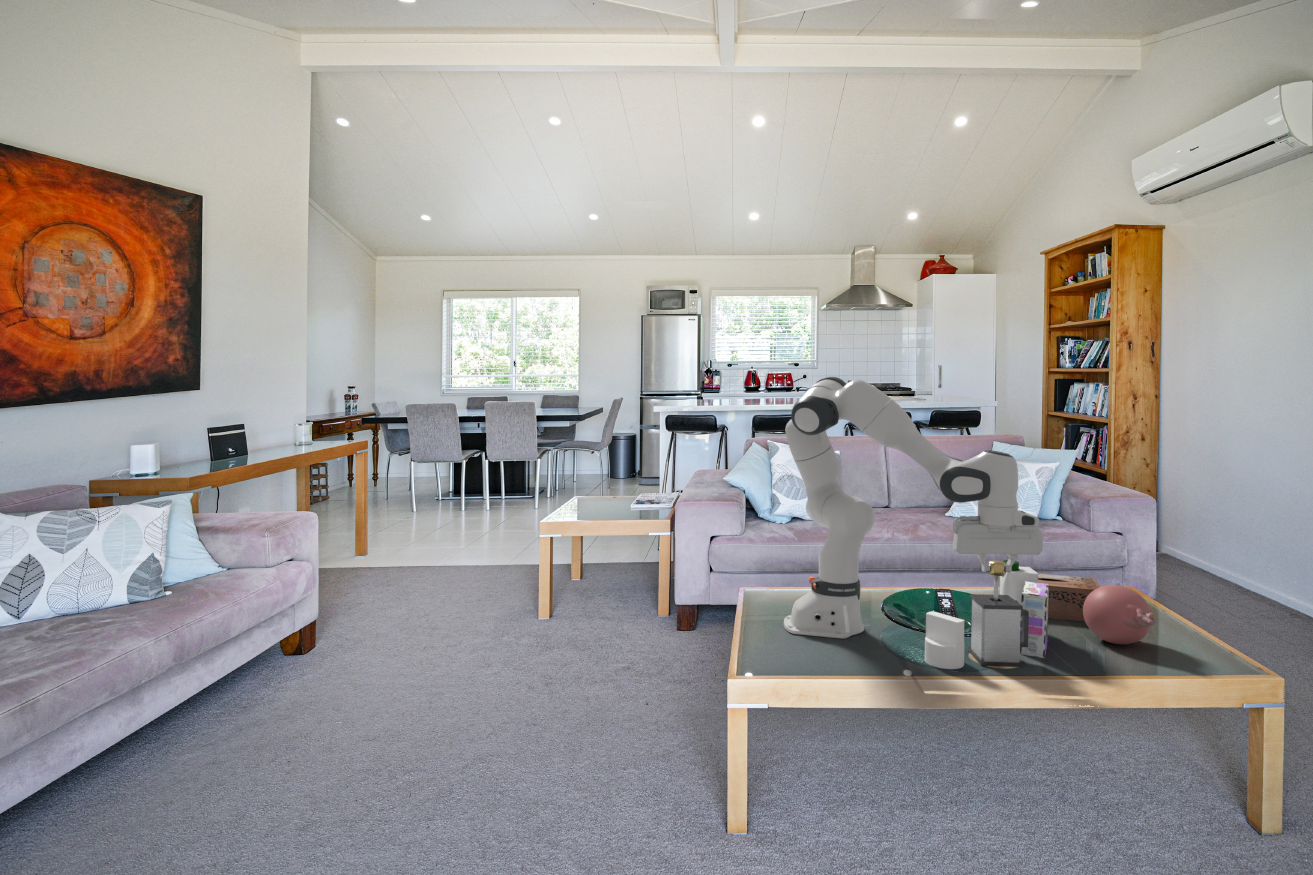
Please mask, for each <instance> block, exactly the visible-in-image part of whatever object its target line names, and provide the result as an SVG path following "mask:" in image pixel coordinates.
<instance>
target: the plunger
mask: <svg viewBox="0 0 1313 875" xmlns="http://www.w3.org/2000/svg"><path fill="white" fill-rule="evenodd" d="M988 564H989V565H990V572H987V573H988V575H990V576H993V595H994V601H998V595H999V586H1000V576H1004V575H1005V562H1003V561H1001V560H994V559H993V560H991V559H990V560H988Z"/></svg>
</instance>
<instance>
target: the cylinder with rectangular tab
mask: <svg viewBox="0 0 1313 875" xmlns="http://www.w3.org/2000/svg"><path fill="white" fill-rule="evenodd" d="M924 661H925V663H926V664H928V665H930V666H932V667H935V668H939V669H944V670H956V669H957V670H959V669H961V668H963V667H964V666H965V619H962V618H959V617H958V618H957V617H954V616H951V615H948V614H944V613H941V612H937V611H934V610H932V611H928V612H926V614H925V637H924Z"/></svg>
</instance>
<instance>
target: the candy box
mask: <svg viewBox="0 0 1313 875" xmlns="http://www.w3.org/2000/svg"><path fill="white" fill-rule="evenodd" d="M1048 587H1049V584H1044V583H1036V582H1027V581H1025V585H1024V588H1023V591H1022V595H1021V605H1022V606H1023V609H1025V610H1027V611H1029V629H1028V647H1020V655H1022V656H1023V655H1024V656H1028V657H1029V656H1030V657H1035V658H1041V659H1046V654H1047V646H1048V629H1049V628H1048V627H1049V618H1048V596H1049V595H1048ZM1021 628H1022V615H1021ZM1021 628H1020V641H1021Z"/></svg>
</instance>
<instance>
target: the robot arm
mask: <svg viewBox="0 0 1313 875" xmlns="http://www.w3.org/2000/svg"><path fill="white" fill-rule="evenodd" d="M790 416H791V417H790V418H791V419H789V421H788V422H787V423H786V425H785V430H784V431H785V435H786V440H787V443H788V447H789V451H790V453H791V455H792V458H793V460H794V463H795V465H796V467H797V470H798V472H799V474H800V476H801V478H802V481H803V483H804V487H805V492H806V498H807V500H806V503H805V510H806V513H807V515H808V517H809V518H810V519H811V520H812V521H813V522H814V523H815V524H817V525H818V526H820V527H823V528H826V529H827V536H826V540H825V542H824V545H823V546H822V547H821V548H820V549H819V551H818V577H815V576H814V575H811V576H809V577H808V582H809V583H810V584H811V586H810V587H811V590H809V591H808V592H807V593H806V594H804V595H802V596H801V597H799V598H798V599H797V600H796V601H795V602H794V603H793V606H792V609H791V614H789V615H787V616H785V617H784V619H783V627H784V629H785V630H786V632H788V633H791V634H793V635H803V636H813V637H822V638H823V637H824V638H833V639H834V638H835V639H847V638H849V637H851V636H854V635H855V636H856V635H858V634H860V633H862V632H864V631H865V627H864V624H863V619H862V614H861V608H860V607H861V606H860V598H861V580H860V578H859V566H860V565H859V564H860V563H859V562H860V552H861V547H862V544H863V542H864V538H865V536H866V535H867V533H870V531H871V530H872V528H874V525H875V520H876V514H875V511H874V509H873V507H872V505H871V504H870V503H868V502H867V501H865V500H864V499H862V498H860V497H859V496H855V495H852V494H848V493H845V492H844V490H843V489H842V486H841V485H842V484H841V480H840V476H841V473H842V465H841V463H840V461H839V459H838V457H837V454H836V453H835V450H834V448H833V445H832V443H831V441H830V439H829V436H828V434H827V433H828V432H827V430H829V429H830V428H833V427H835V426H836V425H837V424H838V423H839V421H841V420H845V421H848V422H850V423H852V424H853V425H854V426H855V427H856V428H858V429H859V430H860V431H861V432H862V433H863V434H864V435H866V436H867V437H869V438H870V439H872V440H873V441H875V442H877V443H878V444H880V445H881V446H883V447H886V448H889V449H890V448H891V449H895V450H898V451H900V452H902V453H904V455H907V456H908V457H909V458H911V459H912V460H913V461H915V462H916V463H917V464H918V465H920V467H922V468H923V469H924V470H926V472H928V473H929V475H930V476H931V478H932V479H933V481H934V483H935V486H936V487H937V489H938V490H939V491H940V492H941V494H942V495H943V496H944V498H946V499H947V500H949V501H950V502H953V503H958V504H961V503H968V502H977V515H969V516H966V515H961V516H959V517H957V518H955V520H954V521H953V523H952V524H953V527H952V528H953V532H954V534H953V541H952V548H953V550H954V551H955V552H956V553H958V554H960V555H976V557H977V558H978V561H979V562H980V564H981V571H982V572H983V573H988V572H990V565H989V563H987V562H986V561H985V559H987V555H1007V558H1008V559H1007V560H1008V561H1007V563H1006V564H1005V572H1012V565H1013V564H1014V562H1015V561H1017V558H1018V556H1019V555H1021V556H1022V555H1023V556H1024V555H1026V556H1029V555H1031V556H1039V555H1040V554H1041V553H1042V552H1043V551H1044V550H1043V549H1044V548H1043V547H1044V546H1043V544H1044V542H1043V541H1044V540H1043V534H1042V530H1041V529H1040V527H1038V526H1039V524H1040V518H1039V517H1037V516H1035V515H1033V514H1031V513H1028V512H1025V511H1023V510H1019V503H1018V502H1019V501H1018V500H1017V493H1018V490H1019V468H1018V467H1019V466H1018V462H1017V460H1016V459H1015V457H1014V456H1013V455H1011V454H1009V453H1006V452H1002V451H999V450H991V449H984V450H983V451H981V452H980V453H979V454H976V455H975V456H973V457H971V458H968V459H966V460H962V459H959V458H955V457H953V456H952V457H951V456H949V455H947V454H946V453H944V452H943V451H942V450H941V449H939V448H938V447H936V445H934V444H933V443H931V441H929V440H928V439H926V437H925V436H923V434H922V433H921V432H920V431H919V430H918V428H917V427H916V425H915V424H914V421H913V420H912V418H911V417H910V416H909V415H908V413H907V412H906V411H905V410H904V409H903V407H901V405H899V403H898V402H896V401H895V400H894V399H892V398H891V397H890V396H888V395H887V393H885V392H883V391H882V390H880V389H878V388H877V387H875V386H874V385H872V384H871V383H868V382H866V381H865V380H863V379H853V380H851V381H849V382H848V383H846V382H845V381H844V380H843V379H842V378H839V377H838V376H826V377H824V378H821V379H819V380H818V381H816V382H815V383H814V384H812V386H810V387H809V388H807V389H806V390H805V391H804V393H803V394H802V395H801V397H800V398H799V399H797V400H796V401H795V403H794V405H793V406H792V409H791V414H790Z"/></svg>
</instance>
